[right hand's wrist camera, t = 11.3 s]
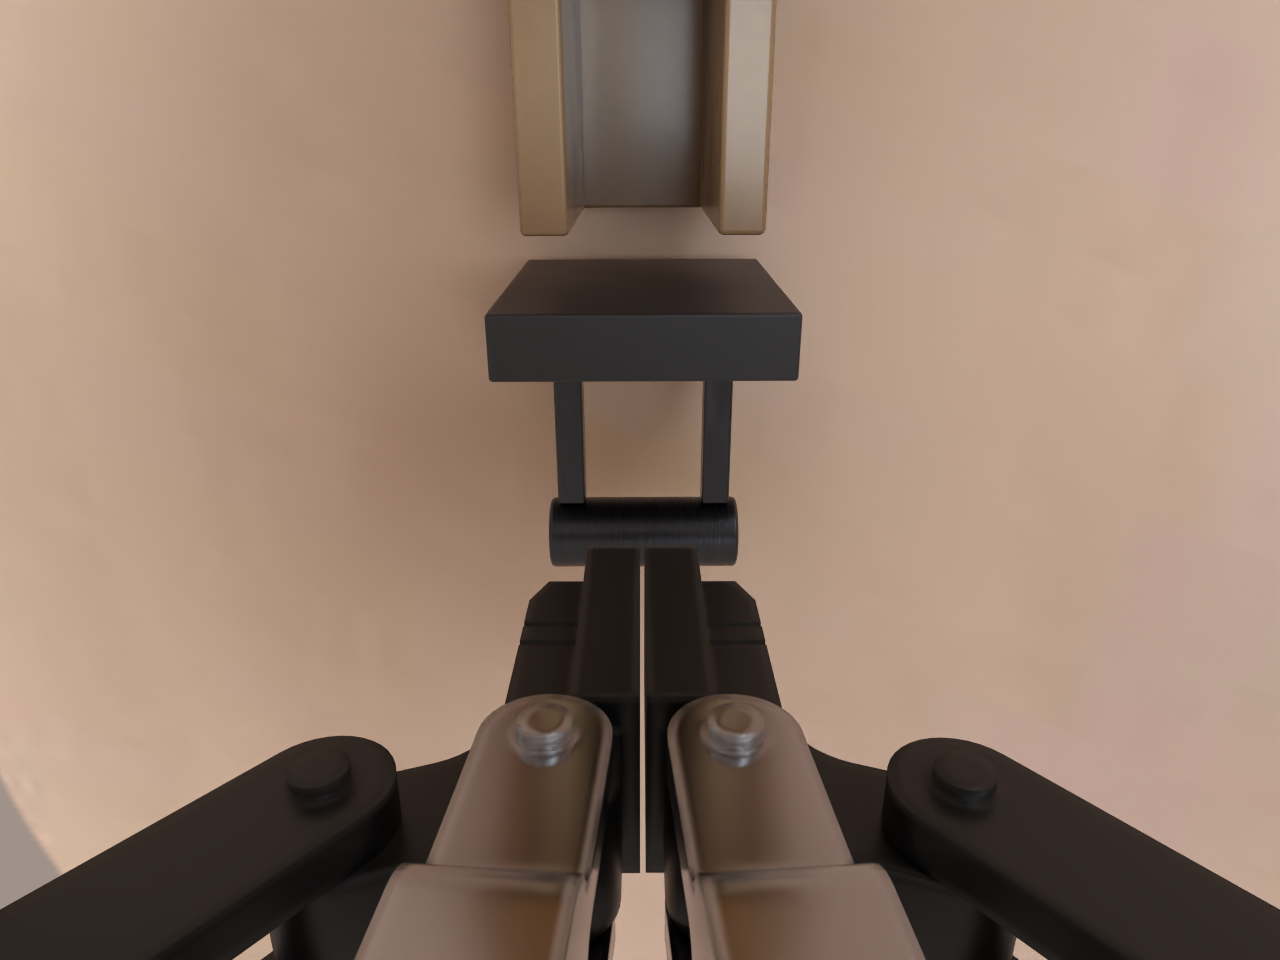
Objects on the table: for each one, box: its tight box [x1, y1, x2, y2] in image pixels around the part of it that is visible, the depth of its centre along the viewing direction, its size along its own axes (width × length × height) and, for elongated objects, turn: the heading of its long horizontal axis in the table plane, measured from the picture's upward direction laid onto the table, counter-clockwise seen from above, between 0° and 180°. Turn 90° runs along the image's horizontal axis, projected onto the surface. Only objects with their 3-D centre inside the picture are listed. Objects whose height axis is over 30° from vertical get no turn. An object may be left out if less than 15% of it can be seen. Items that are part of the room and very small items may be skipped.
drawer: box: [485, 0, 802, 566], centre depth 17 cm, size 20×5×6 cm, turn 0°
